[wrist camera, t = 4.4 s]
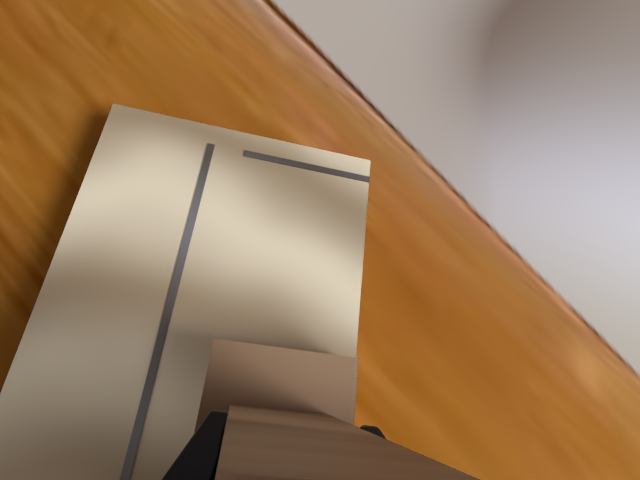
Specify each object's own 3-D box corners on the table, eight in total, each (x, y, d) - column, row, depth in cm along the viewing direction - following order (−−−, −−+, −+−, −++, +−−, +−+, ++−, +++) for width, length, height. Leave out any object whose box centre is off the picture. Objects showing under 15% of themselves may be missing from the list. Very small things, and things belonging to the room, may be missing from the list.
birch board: (324, 610, 13) (335, 639, 12) (-54, 601, 12) (-95, 634, 10) (361, 175, 20) (371, 159, 18) (122, 124, 18) (112, 102, 17)
